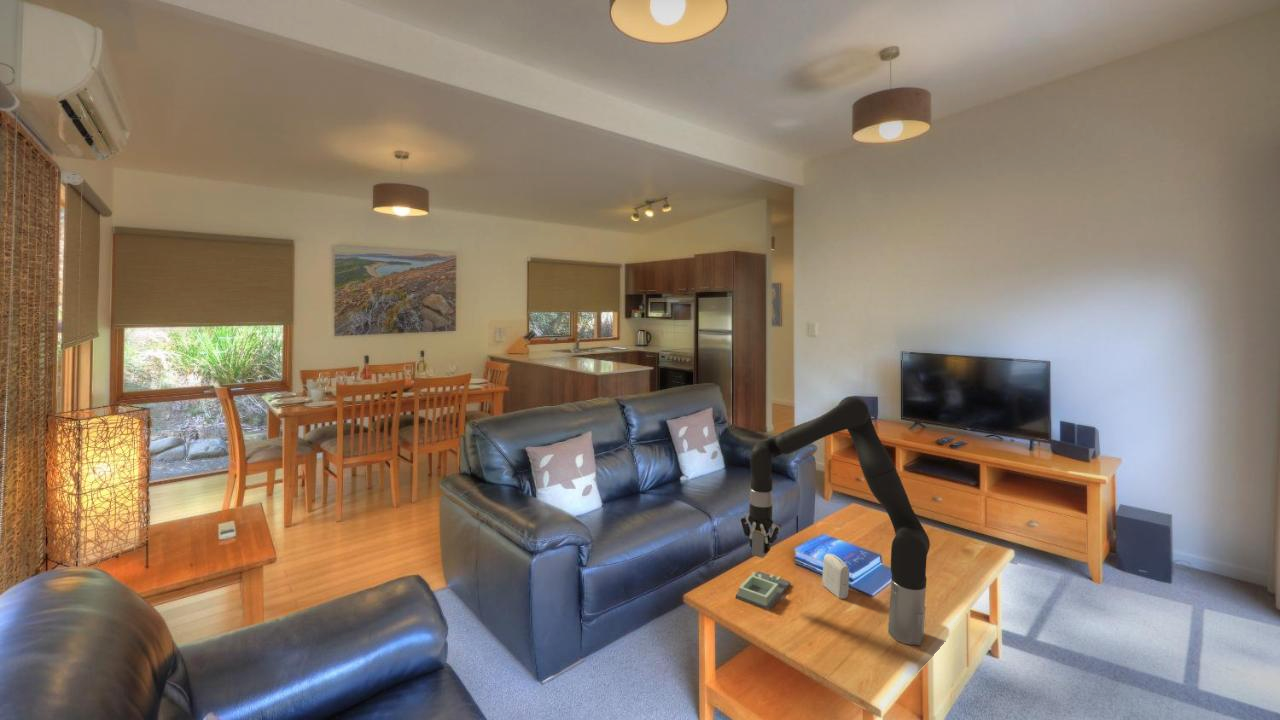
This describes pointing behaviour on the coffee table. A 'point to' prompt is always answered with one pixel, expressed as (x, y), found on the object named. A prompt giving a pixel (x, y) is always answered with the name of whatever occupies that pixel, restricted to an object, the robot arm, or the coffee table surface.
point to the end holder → (757, 596)
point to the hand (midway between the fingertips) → (759, 550)
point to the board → (781, 589)
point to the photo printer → (835, 576)
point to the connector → (758, 544)
